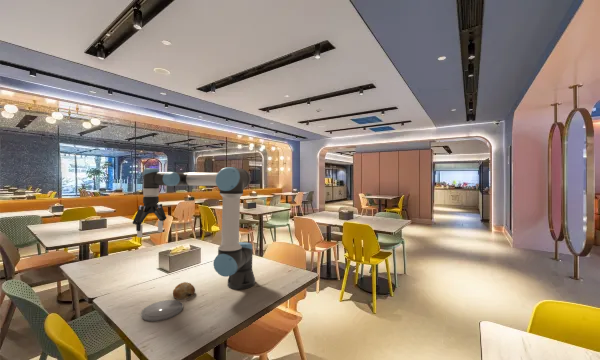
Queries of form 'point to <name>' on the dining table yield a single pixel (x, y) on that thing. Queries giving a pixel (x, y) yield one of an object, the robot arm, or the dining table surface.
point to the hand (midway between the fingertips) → (150, 234)
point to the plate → (162, 310)
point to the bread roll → (183, 291)
